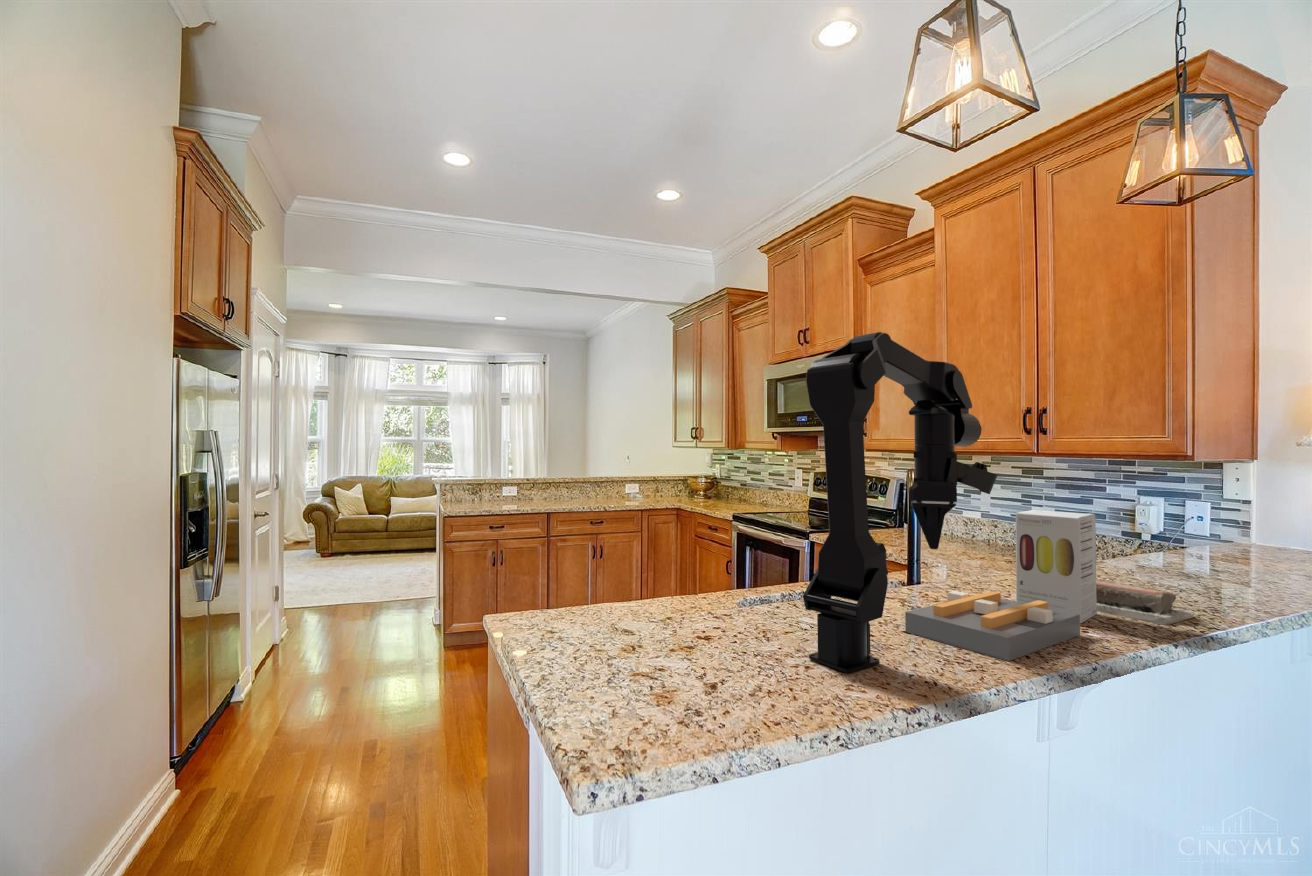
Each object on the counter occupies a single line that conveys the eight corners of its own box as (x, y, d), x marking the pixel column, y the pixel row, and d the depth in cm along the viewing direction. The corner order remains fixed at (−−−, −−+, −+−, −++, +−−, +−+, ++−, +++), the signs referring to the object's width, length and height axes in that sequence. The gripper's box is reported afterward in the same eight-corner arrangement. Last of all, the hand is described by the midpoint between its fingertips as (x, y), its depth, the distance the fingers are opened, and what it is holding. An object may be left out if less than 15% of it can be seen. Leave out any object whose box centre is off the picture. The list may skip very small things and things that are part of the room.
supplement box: (1014, 612, 100) (1012, 512, 100) (1033, 603, 106) (1031, 508, 106) (1082, 625, 92) (1079, 516, 93) (1099, 614, 98) (1096, 512, 99)
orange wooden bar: (942, 617, 86) (942, 607, 87) (933, 614, 88) (933, 605, 88) (1000, 601, 95) (1000, 593, 95) (991, 600, 96) (991, 591, 96)
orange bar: (990, 629, 81) (990, 618, 81) (980, 626, 82) (980, 616, 82) (1048, 611, 89) (1048, 602, 89) (1038, 609, 90) (1038, 600, 90)
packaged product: (1043, 576, 108) (1074, 571, 113) (1044, 603, 108) (1074, 596, 112) (1165, 597, 92) (1194, 590, 97) (1165, 628, 92) (1195, 620, 96)
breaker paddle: (990, 615, 86) (990, 604, 86) (974, 611, 88) (973, 601, 88) (997, 613, 87) (997, 602, 87) (981, 609, 89) (981, 599, 89)
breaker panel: (1008, 661, 77) (1008, 625, 77) (905, 631, 89) (905, 601, 89) (1080, 635, 87) (1079, 603, 88) (978, 612, 100) (978, 584, 100)
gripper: (997, 443, 81) (998, 558, 80) (989, 447, 98) (990, 542, 97) (908, 443, 86) (909, 551, 85) (916, 447, 103) (916, 537, 102)
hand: (934, 545), depth 92 cm, fingers open, 9 cm apart
